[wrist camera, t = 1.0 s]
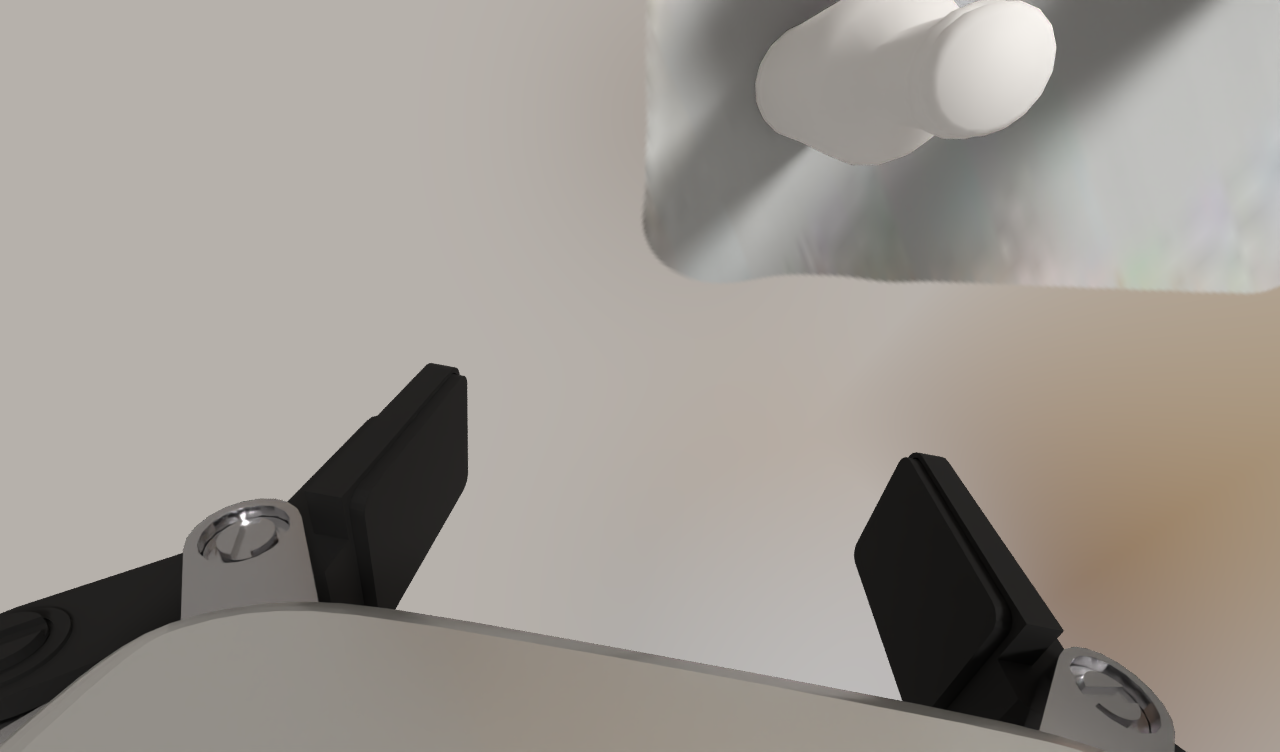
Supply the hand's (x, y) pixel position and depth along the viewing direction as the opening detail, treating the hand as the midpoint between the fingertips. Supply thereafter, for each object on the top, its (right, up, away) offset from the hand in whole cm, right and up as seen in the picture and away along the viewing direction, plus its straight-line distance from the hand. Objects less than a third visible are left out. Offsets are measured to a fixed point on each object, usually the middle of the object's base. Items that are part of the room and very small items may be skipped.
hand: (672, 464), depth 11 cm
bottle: (+13, +26, +31) cm, 42 cm away
